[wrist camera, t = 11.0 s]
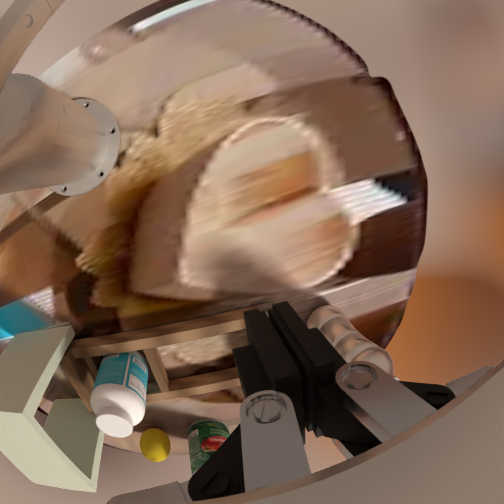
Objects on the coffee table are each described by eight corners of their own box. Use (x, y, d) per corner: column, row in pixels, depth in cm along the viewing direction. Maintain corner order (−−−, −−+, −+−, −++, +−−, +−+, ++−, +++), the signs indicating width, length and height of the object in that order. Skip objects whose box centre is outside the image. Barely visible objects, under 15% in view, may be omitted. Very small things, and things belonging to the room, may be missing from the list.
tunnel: (59, 404, 38) (33, 482, 20) (17, 332, 33) (-36, 405, 15) (111, 402, 40) (96, 492, 22) (71, 325, 35) (21, 413, 17)
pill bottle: (100, 370, 38) (82, 432, 25) (108, 336, 37) (86, 397, 24) (143, 385, 40) (137, 449, 28) (155, 353, 39) (149, 418, 26)
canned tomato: (231, 418, 46) (243, 464, 36) (225, 442, 48) (236, 484, 37) (188, 417, 44) (192, 465, 34) (186, 441, 46) (191, 485, 35)
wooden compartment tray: (95, 396, 38) (87, 423, 32) (65, 341, 35) (51, 366, 29) (278, 363, 44) (292, 390, 37) (270, 301, 40) (285, 324, 34)
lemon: (143, 436, 43) (141, 467, 36) (139, 418, 42) (136, 451, 34) (170, 437, 45) (172, 469, 37) (168, 420, 43) (169, 453, 36)
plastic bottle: (301, 341, 44) (363, 428, 25) (301, 304, 42) (375, 387, 23) (336, 332, 45) (407, 407, 27) (339, 296, 43) (421, 366, 25)
